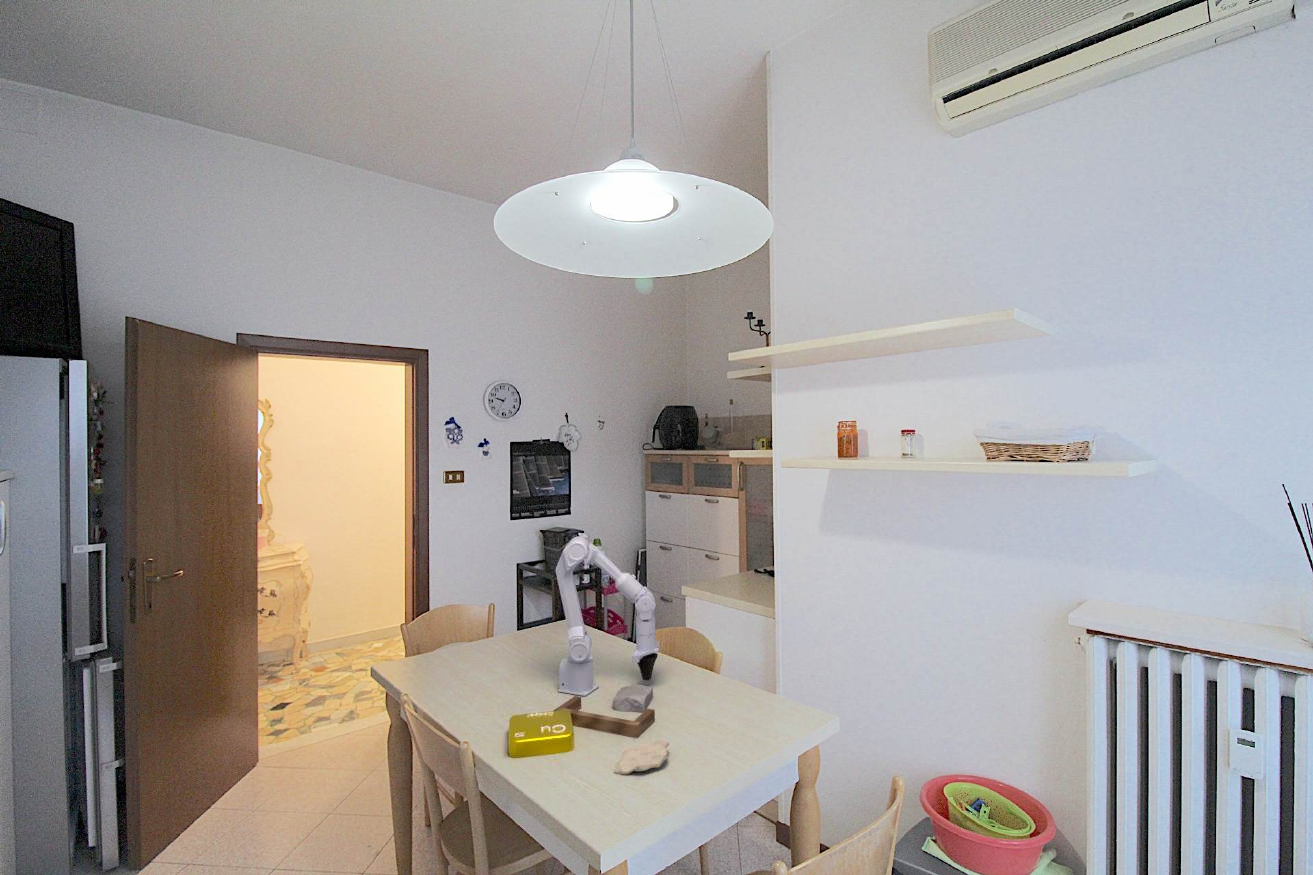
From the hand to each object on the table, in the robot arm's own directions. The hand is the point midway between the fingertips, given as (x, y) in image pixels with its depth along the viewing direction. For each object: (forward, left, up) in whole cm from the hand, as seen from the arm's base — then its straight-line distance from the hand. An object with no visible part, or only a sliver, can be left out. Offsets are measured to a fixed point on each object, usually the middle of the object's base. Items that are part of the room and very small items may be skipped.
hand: (646, 679), depth 182 cm
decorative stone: (+18, -40, -3) cm, 44 cm away
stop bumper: (0, -25, -2) cm, 25 cm away
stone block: (+1, -12, -3) cm, 12 cm away
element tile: (-9, -40, -3) cm, 41 cm away
